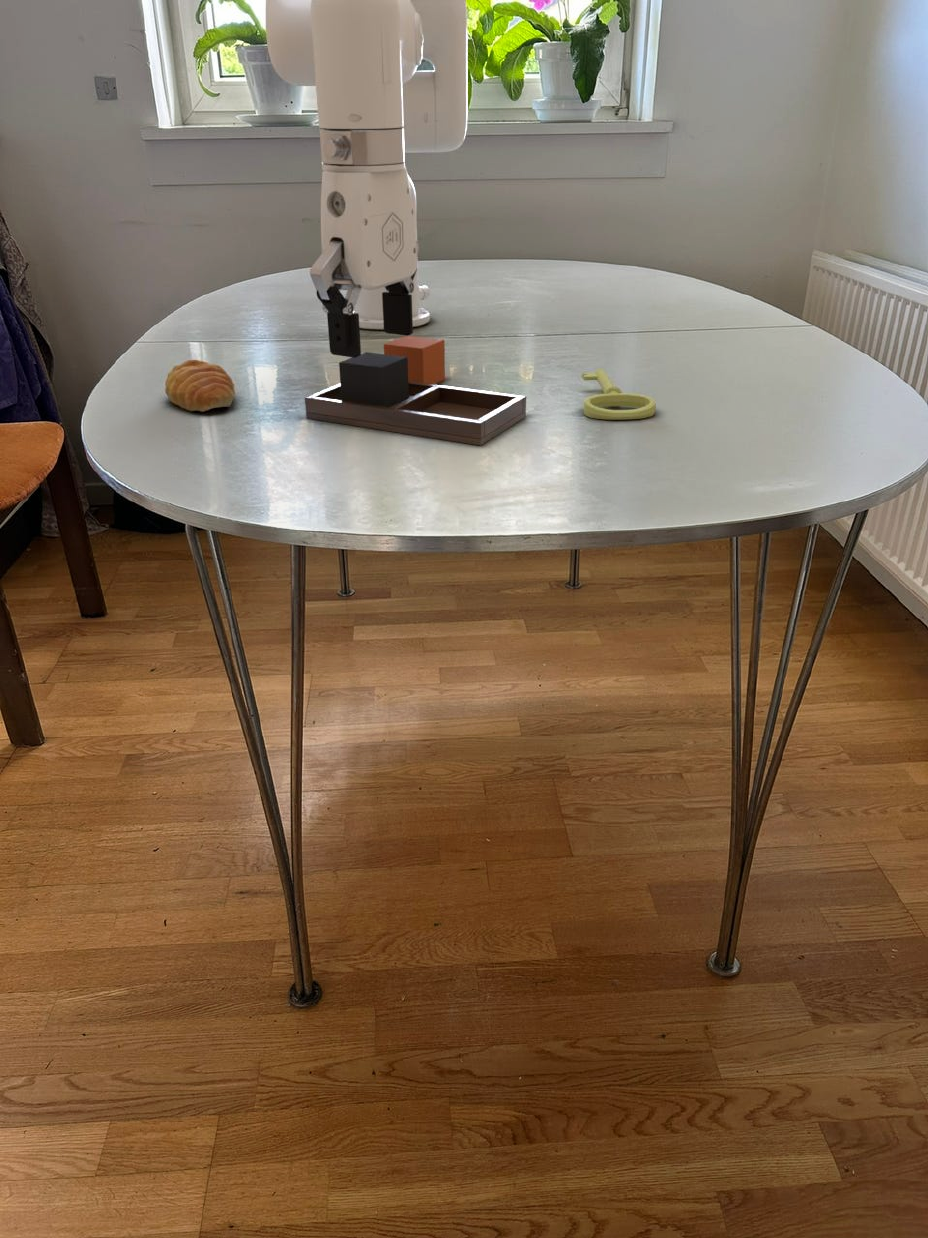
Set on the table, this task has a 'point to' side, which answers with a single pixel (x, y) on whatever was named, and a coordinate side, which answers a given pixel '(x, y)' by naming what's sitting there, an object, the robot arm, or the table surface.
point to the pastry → (199, 386)
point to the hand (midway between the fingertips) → (373, 344)
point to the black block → (374, 379)
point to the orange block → (420, 357)
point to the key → (615, 401)
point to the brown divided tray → (426, 412)
